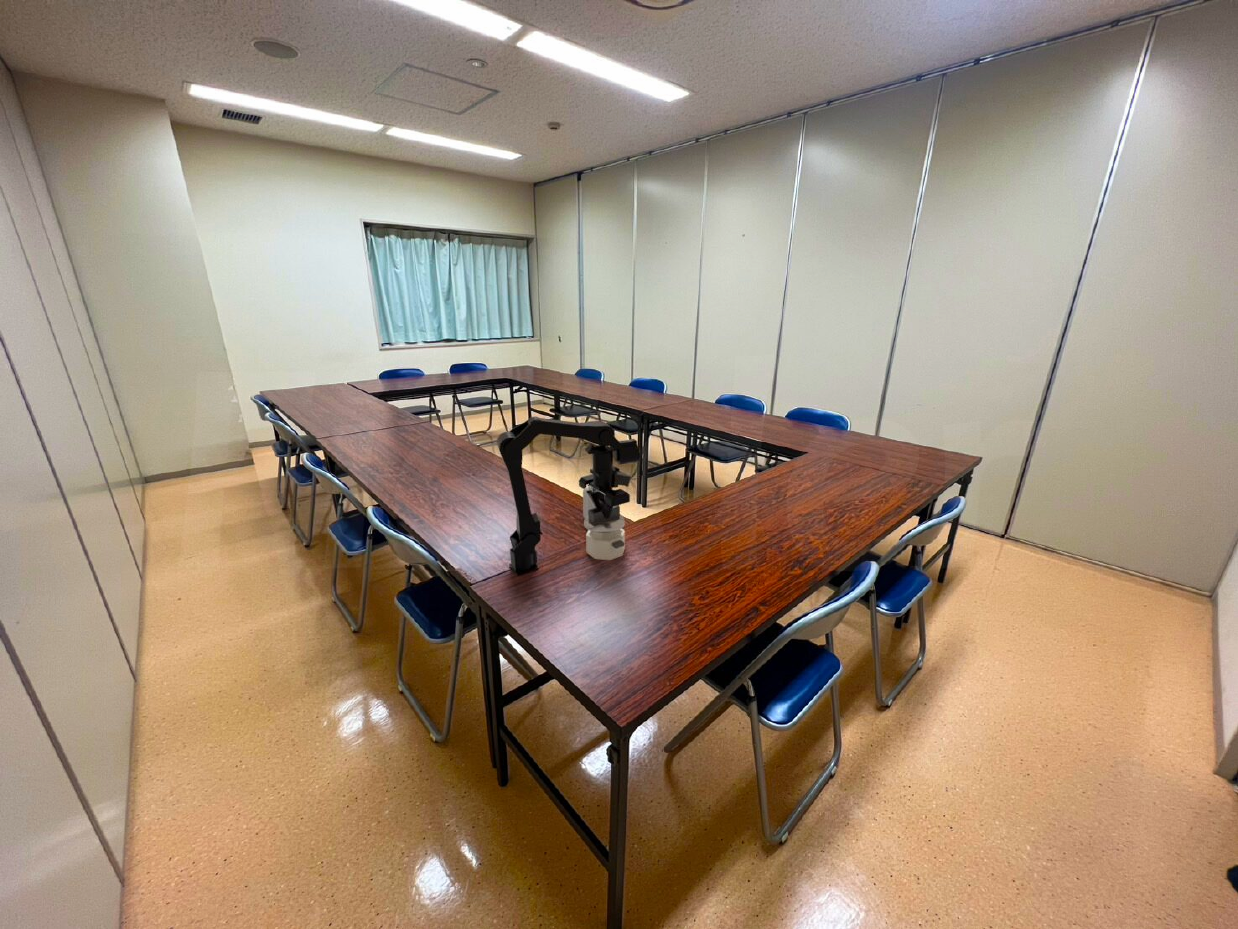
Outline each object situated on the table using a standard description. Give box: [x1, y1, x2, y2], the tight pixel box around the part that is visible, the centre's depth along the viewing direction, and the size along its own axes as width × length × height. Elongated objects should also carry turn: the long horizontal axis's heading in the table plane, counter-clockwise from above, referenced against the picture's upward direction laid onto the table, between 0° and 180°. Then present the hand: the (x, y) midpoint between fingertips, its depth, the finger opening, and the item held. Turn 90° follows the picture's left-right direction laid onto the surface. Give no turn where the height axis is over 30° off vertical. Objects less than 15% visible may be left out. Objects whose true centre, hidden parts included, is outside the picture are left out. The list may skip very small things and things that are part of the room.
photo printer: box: [582, 485, 596, 519], centre depth 163 cm, size 10×4×12 cm, turn 60°
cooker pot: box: [585, 528, 626, 561], centre depth 143 cm, size 11×15×6 cm
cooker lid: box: [583, 505, 626, 533], centre depth 139 cm, size 12×12×5 cm
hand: (604, 516), depth 139 cm, fingers closed on cooker lid, 3 cm apart
